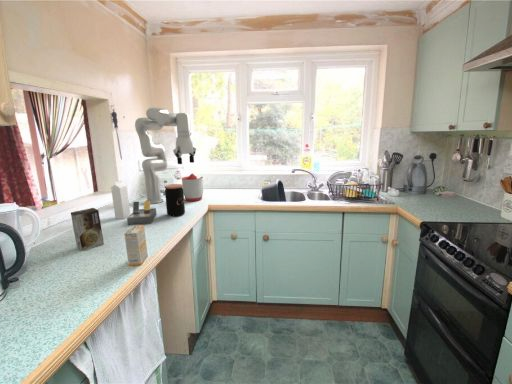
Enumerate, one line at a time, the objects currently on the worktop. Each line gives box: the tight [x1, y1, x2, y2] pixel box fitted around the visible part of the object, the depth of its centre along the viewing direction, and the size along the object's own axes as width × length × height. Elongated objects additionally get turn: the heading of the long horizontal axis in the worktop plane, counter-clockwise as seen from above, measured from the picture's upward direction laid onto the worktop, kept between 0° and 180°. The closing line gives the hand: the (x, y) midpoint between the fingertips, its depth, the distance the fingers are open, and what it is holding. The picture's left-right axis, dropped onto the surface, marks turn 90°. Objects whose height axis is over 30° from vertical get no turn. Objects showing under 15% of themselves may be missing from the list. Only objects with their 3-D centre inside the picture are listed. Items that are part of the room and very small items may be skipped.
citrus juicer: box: [181, 173, 204, 202], centre depth 200 cm, size 16×17×20 cm
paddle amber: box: [143, 200, 151, 213], centre depth 155 cm, size 2×3×7 cm, turn 101°
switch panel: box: [126, 207, 158, 226], centre depth 154 cm, size 18×12×4 cm, turn 11°
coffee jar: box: [164, 183, 186, 218], centre depth 162 cm, size 11×11×18 cm
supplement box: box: [124, 224, 148, 267], centre depth 101 cm, size 8×5×13 cm, turn 5°
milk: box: [110, 180, 131, 220], centre depth 157 cm, size 6×6×22 cm
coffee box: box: [70, 207, 105, 252], centre depth 116 cm, size 9×6×16 cm
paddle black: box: [132, 201, 140, 213], centre depth 154 cm, size 2×3×7 cm, turn 101°
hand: (186, 163), depth 162 cm, fingers open, 9 cm apart
